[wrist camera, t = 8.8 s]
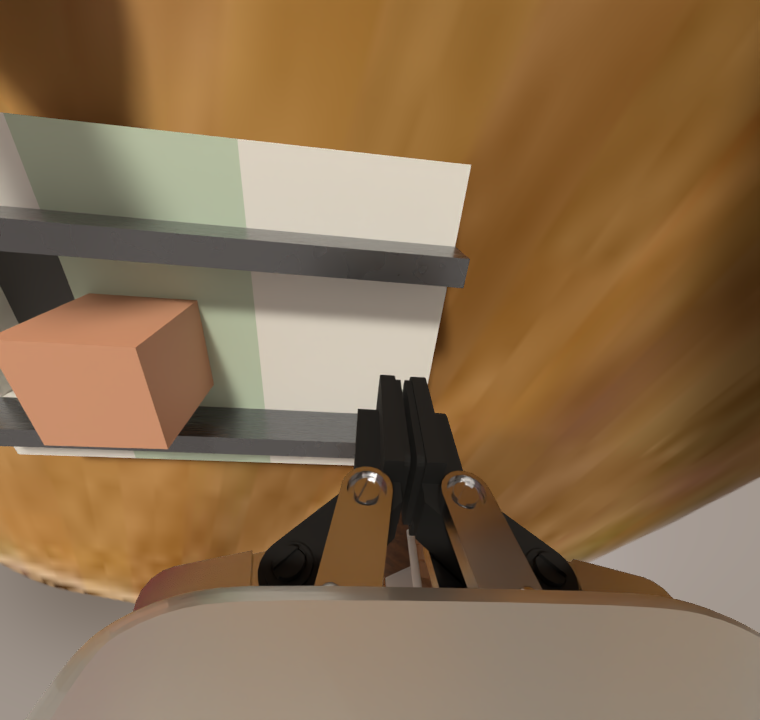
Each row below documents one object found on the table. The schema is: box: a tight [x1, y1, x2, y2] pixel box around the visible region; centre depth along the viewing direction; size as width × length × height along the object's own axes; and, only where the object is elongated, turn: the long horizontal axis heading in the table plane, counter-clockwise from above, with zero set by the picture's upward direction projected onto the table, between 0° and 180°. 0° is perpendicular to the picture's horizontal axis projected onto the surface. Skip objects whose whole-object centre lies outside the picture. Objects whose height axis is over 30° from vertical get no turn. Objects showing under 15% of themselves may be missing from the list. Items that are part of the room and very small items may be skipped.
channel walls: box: [0, 206, 470, 459], centre depth 16 cm, size 25×11×2 cm, turn 85°
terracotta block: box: [0, 293, 214, 449], centre depth 15 cm, size 5×5×5 cm
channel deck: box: [0, 113, 471, 465], centre depth 18 cm, size 25×18×3 cm
